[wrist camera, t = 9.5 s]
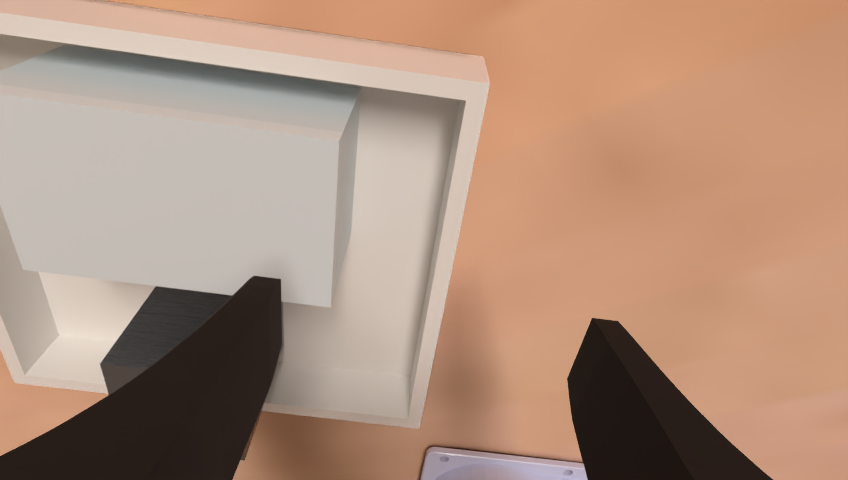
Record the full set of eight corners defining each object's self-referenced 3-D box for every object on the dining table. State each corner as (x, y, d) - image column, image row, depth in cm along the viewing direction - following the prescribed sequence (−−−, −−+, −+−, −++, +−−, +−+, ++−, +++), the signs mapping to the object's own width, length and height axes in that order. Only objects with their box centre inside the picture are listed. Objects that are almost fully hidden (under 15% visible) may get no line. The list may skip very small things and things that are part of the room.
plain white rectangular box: (361, 87, 18) (339, 140, 15) (351, 233, 22) (330, 307, 18) (63, 45, 18) (-41, 88, 14) (99, 200, 21) (22, 269, 17)
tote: (483, 56, 18) (489, 83, 16) (421, 378, 27) (419, 428, 24) (-65, -25, 17) (-151, -10, 15) (55, 335, 26) (14, 382, 24)
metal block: (282, 271, 23) (237, 379, 18) (283, 346, 25) (244, 460, 20) (175, 258, 23) (99, 364, 18) (187, 335, 25) (123, 447, 20)
